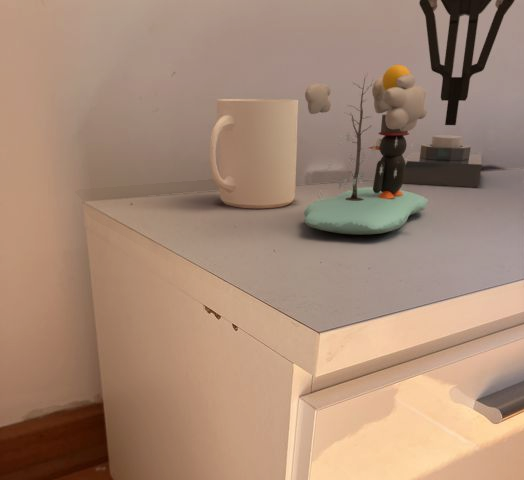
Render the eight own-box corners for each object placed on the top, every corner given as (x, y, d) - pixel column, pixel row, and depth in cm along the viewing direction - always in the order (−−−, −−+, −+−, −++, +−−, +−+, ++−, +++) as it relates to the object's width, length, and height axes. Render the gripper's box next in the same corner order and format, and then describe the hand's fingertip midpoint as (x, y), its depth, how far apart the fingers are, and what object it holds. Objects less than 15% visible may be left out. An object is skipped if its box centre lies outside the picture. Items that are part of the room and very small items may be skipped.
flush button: (460, 147, 89) (462, 135, 88) (460, 150, 85) (461, 138, 85) (431, 146, 90) (433, 134, 90) (429, 149, 87) (431, 137, 86)
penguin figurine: (355, 201, 72) (366, 67, 65) (440, 211, 67) (461, 67, 60) (278, 233, 56) (282, 61, 50) (381, 249, 51) (400, 60, 45)
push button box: (478, 175, 94) (483, 143, 92) (478, 187, 83) (484, 151, 81) (410, 171, 97) (413, 140, 95) (401, 183, 86) (405, 148, 84)
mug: (307, 199, 73) (311, 100, 68) (261, 216, 63) (262, 102, 58) (244, 192, 77) (243, 98, 72) (192, 207, 68) (187, 100, 63)
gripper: (422, -67, 75) (404, 125, 85) (529, -75, 71) (497, 127, 81) (426, -55, 82) (409, 122, 91) (525, -62, 78) (495, 124, 88)
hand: (450, 124), depth 86 cm, fingers closed
